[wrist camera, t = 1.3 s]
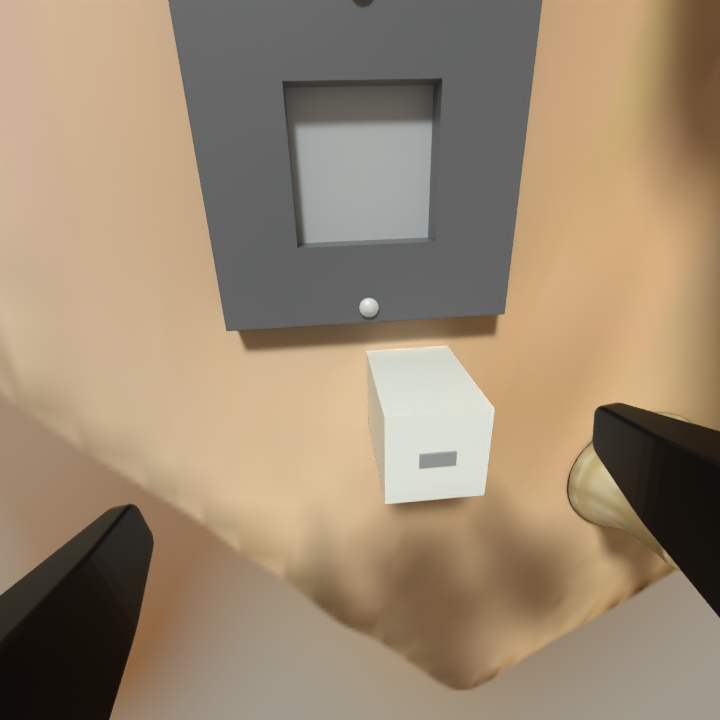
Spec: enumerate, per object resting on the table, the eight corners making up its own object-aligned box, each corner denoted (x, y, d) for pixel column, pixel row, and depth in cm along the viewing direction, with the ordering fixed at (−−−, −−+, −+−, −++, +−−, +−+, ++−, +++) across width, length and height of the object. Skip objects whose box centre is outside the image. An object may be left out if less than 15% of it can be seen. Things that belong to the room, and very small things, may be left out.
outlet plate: (525, -25, 15) (550, -48, 13) (491, 304, 20) (506, 315, 18) (175, -26, 14) (157, -51, 12) (233, 319, 19) (225, 332, 17)
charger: (447, 345, 20) (495, 410, 15) (442, 415, 22) (485, 496, 16) (366, 350, 20) (384, 419, 14) (367, 420, 22) (385, 506, 16)
